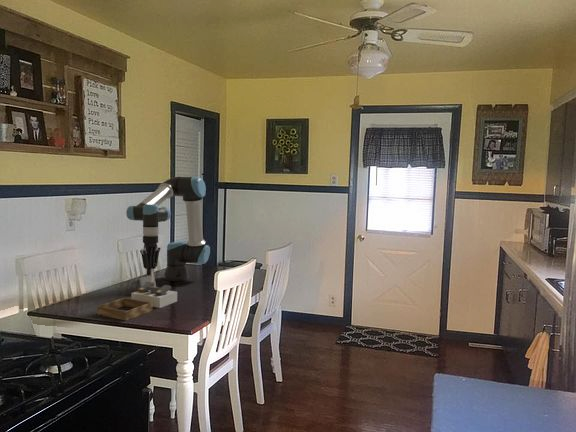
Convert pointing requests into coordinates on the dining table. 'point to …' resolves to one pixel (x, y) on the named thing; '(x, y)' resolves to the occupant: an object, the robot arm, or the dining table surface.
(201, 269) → the dining table surface
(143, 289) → the rocker
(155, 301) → the switch unit
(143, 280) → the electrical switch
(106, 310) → the tray
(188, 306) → the dining table surface
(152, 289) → the rocker
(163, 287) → the rocker
